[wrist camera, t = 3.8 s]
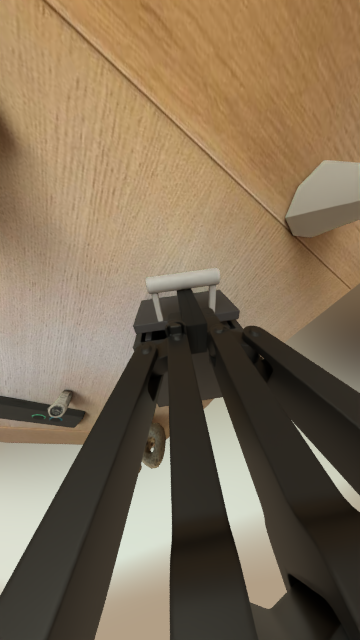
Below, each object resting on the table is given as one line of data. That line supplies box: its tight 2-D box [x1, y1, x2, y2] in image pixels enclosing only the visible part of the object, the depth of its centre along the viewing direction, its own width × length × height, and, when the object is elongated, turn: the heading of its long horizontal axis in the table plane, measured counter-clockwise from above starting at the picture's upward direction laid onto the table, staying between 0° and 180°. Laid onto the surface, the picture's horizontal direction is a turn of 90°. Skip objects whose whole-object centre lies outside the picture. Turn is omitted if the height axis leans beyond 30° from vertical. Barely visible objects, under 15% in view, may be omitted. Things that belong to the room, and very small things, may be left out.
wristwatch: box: [48, 390, 72, 418], centre depth 32 cm, size 4×6×5 cm, turn 157°
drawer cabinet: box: [133, 319, 243, 407], centre depth 24 cm, size 16×14×9 cm
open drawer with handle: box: [133, 268, 240, 342], centre depth 20 cm, size 20×12×7 cm, turn 6°
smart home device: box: [0, 396, 85, 428], centre depth 36 cm, size 8×2×20 cm
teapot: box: [139, 423, 166, 472], centre depth 38 cm, size 21×12×15 cm, turn 128°
